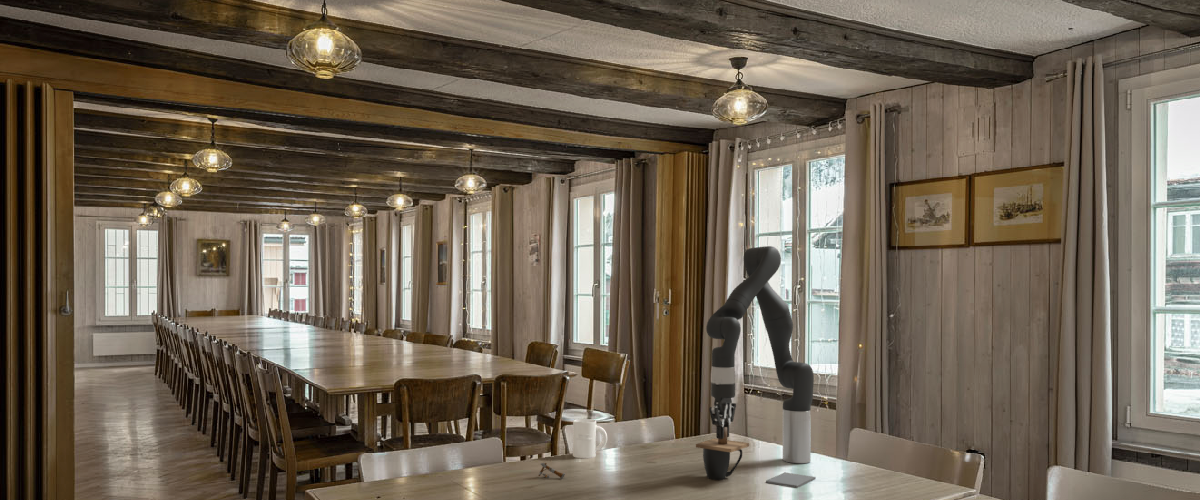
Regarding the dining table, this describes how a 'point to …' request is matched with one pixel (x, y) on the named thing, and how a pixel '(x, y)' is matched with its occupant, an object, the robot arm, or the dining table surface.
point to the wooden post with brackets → (550, 471)
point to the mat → (790, 479)
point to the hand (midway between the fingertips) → (722, 437)
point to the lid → (722, 444)
